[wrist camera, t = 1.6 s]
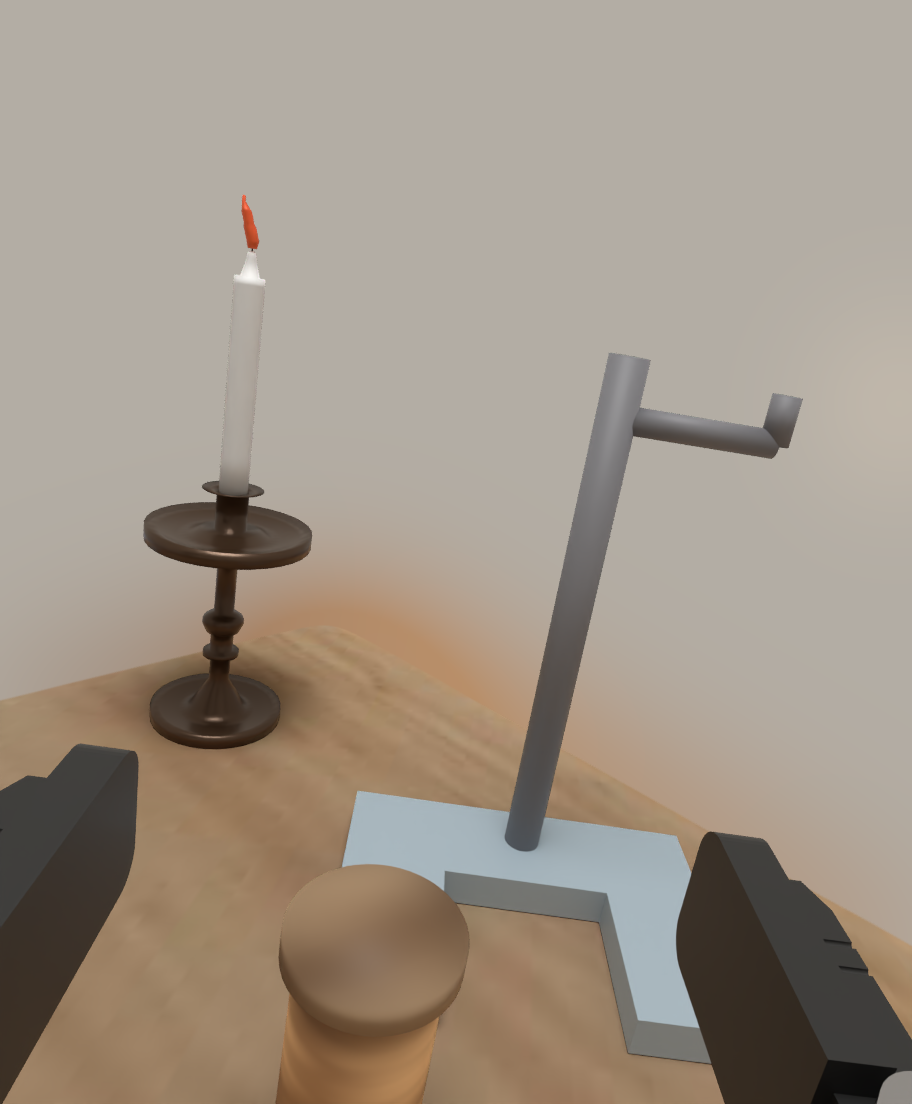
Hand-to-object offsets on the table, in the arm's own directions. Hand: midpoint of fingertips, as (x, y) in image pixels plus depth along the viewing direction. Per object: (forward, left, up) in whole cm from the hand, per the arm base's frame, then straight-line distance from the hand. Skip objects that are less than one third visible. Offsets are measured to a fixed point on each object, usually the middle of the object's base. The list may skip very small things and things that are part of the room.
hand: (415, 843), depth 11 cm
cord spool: (-7, +8, -24) cm, 27 cm away
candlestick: (-37, +23, -24) cm, 50 cm away
